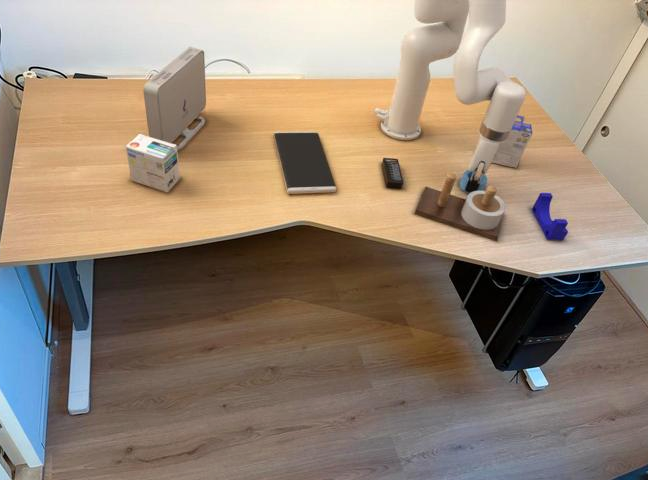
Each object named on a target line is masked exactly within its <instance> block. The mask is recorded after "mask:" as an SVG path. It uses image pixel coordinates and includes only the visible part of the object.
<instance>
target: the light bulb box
mask: <svg viewBox="0 0 648 480" xmlns="http://www.w3.org/2000/svg"><path fill="white" fill-rule="evenodd" d="M177 146H178V145H177V144H175V143H173V142H172V143H169V142H165V141H161V140H158V139H155V138H152V137H149V135H145V134H142V133H138V135H136V136H135V138H133V139H132V140H131V141H130V142H129V143H127V144H126V145H125V151H126V157H127V163H128V167H129V168H128V169H129V174H130V180H131V181H132V182H134V183H138V184H141V185H144V186H146V187H150V188H153V189H156V190H158V191H162V192H165V193H169V191H170V190H171V189H172V188H173V187H174V186H175V185H176V184H177V183H178V182H179V181H180V179H181V177H180V165H179V164H180V163H179V155H178V150H177Z"/></svg>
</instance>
